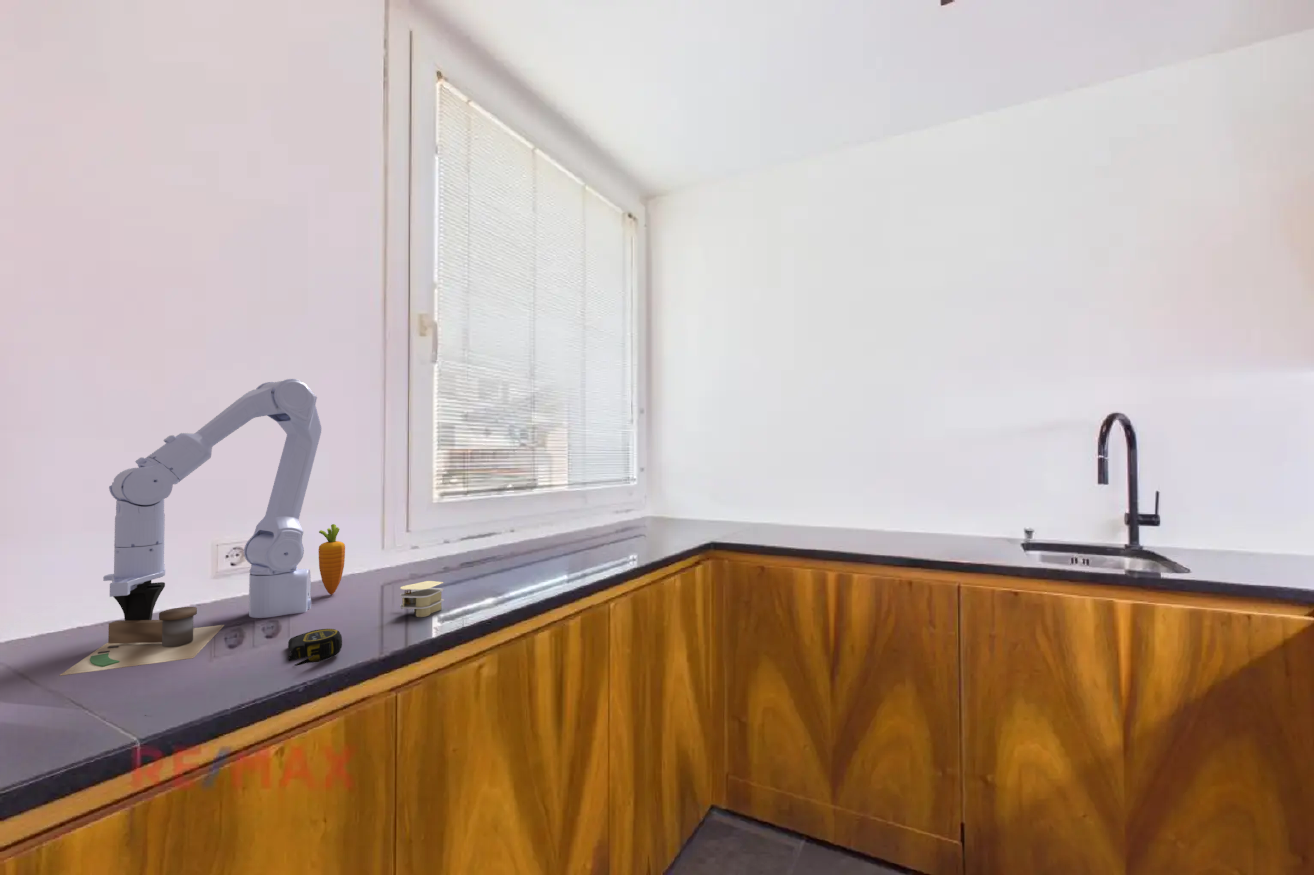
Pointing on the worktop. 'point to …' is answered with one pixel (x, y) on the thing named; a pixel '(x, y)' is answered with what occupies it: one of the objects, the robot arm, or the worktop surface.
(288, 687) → the worktop surface
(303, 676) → the worktop surface
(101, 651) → the dial board
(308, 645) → the tape measure
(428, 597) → the stacked layers on plate
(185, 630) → the dial pointer
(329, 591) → the carrot
